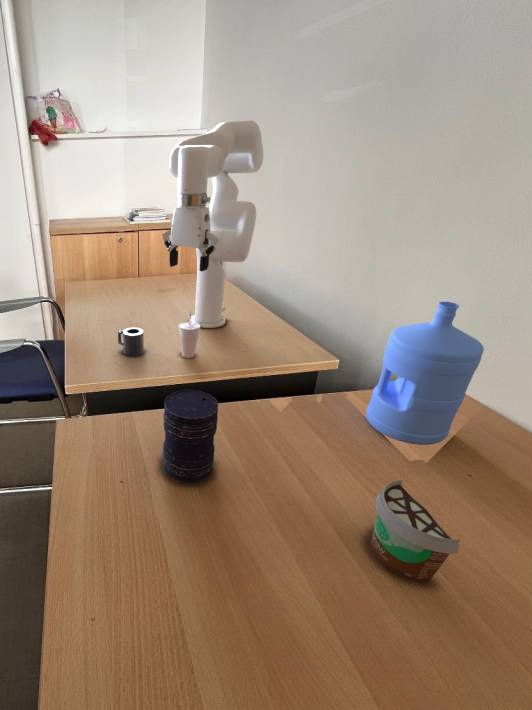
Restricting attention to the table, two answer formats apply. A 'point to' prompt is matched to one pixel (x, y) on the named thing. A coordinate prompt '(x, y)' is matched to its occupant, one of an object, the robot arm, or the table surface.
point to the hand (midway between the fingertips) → (188, 268)
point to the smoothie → (189, 337)
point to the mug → (132, 341)
